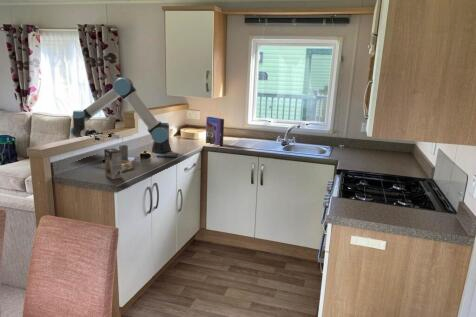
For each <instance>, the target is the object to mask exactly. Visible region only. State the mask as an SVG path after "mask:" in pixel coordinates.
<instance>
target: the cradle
mask: <svg viewBox="0 0 476 317" xmlns="http://www.w3.org/2000/svg"><path fill="white" fill-rule="evenodd" d="M133 164H134V163H133V161H129V160H128V161H125V160H121V166H122V172H124V171H128V170H131V169H134V165H133Z"/></svg>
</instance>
